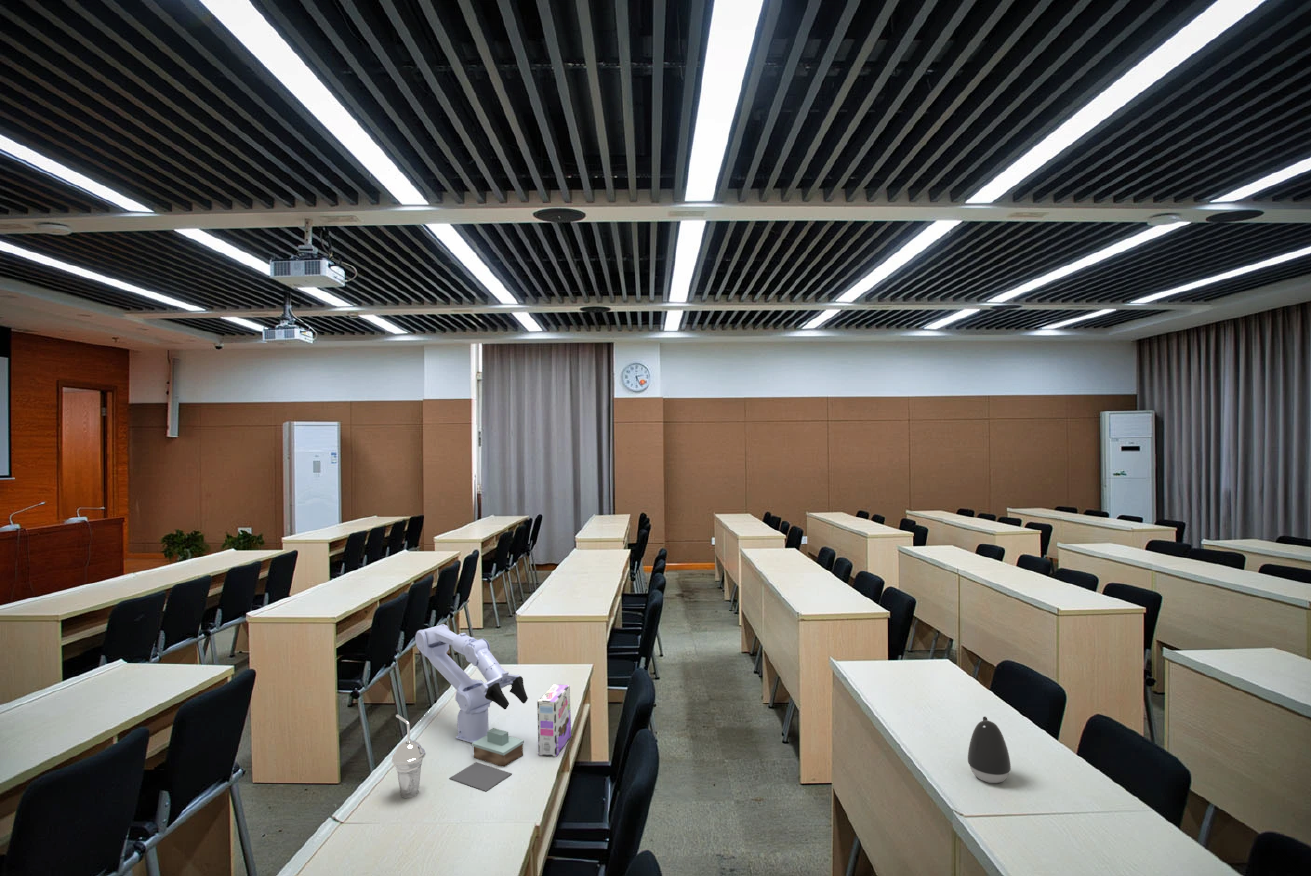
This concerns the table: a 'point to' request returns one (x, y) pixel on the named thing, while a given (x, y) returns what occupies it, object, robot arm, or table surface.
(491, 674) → the robot arm
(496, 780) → the mat
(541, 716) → the candy box
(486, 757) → the chalk box
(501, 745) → the lid
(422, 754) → the cup with straw
